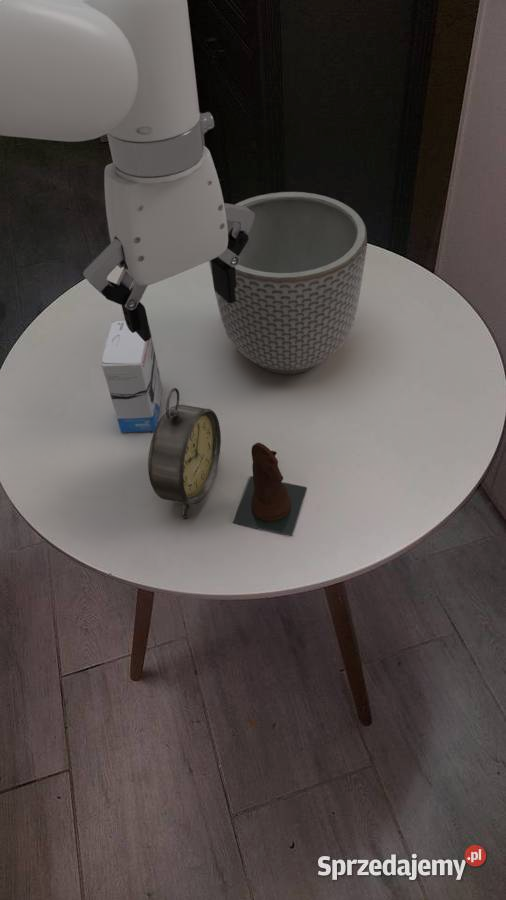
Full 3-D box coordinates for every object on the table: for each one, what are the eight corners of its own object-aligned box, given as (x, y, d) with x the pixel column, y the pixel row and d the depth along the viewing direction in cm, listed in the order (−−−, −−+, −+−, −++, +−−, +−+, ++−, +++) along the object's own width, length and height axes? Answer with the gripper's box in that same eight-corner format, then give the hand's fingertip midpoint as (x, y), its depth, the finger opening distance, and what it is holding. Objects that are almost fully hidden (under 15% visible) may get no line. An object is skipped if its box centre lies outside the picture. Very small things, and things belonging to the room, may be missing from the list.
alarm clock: (194, 530, 78) (173, 434, 66) (151, 519, 79) (123, 423, 67) (227, 460, 85) (214, 361, 72) (187, 451, 86) (167, 352, 74)
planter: (382, 375, 93) (397, 253, 79) (247, 416, 90) (236, 296, 75) (324, 295, 106) (327, 177, 91) (202, 328, 102) (186, 211, 88)
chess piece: (268, 529, 77) (264, 473, 70) (241, 502, 80) (234, 445, 72) (299, 508, 79) (298, 451, 71) (271, 482, 82) (268, 424, 74)
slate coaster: (232, 523, 78) (232, 521, 78) (250, 477, 83) (250, 475, 82) (291, 536, 77) (291, 534, 77) (307, 488, 81) (307, 487, 81)
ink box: (157, 432, 88) (141, 364, 80) (119, 433, 89) (99, 365, 80) (163, 387, 94) (149, 318, 85) (128, 388, 94) (110, 319, 85)
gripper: (222, 100, 60) (236, 266, 73) (39, 160, 55) (89, 329, 68) (270, 129, 56) (276, 300, 69) (77, 197, 51) (123, 370, 63)
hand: (184, 314), depth 68 cm, fingers open, 9 cm apart
